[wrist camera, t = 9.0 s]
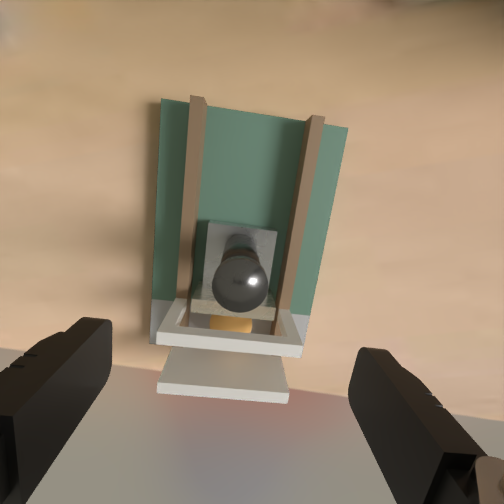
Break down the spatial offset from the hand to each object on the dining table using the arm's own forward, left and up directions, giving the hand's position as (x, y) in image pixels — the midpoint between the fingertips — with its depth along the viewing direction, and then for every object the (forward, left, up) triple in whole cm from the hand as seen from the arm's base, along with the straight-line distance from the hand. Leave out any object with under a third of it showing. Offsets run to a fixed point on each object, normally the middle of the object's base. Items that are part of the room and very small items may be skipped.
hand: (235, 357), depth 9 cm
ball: (+7, 0, -15) cm, 17 cm away
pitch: (0, 0, -19) cm, 19 cm away
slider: (+2, 0, -17) cm, 17 cm away
